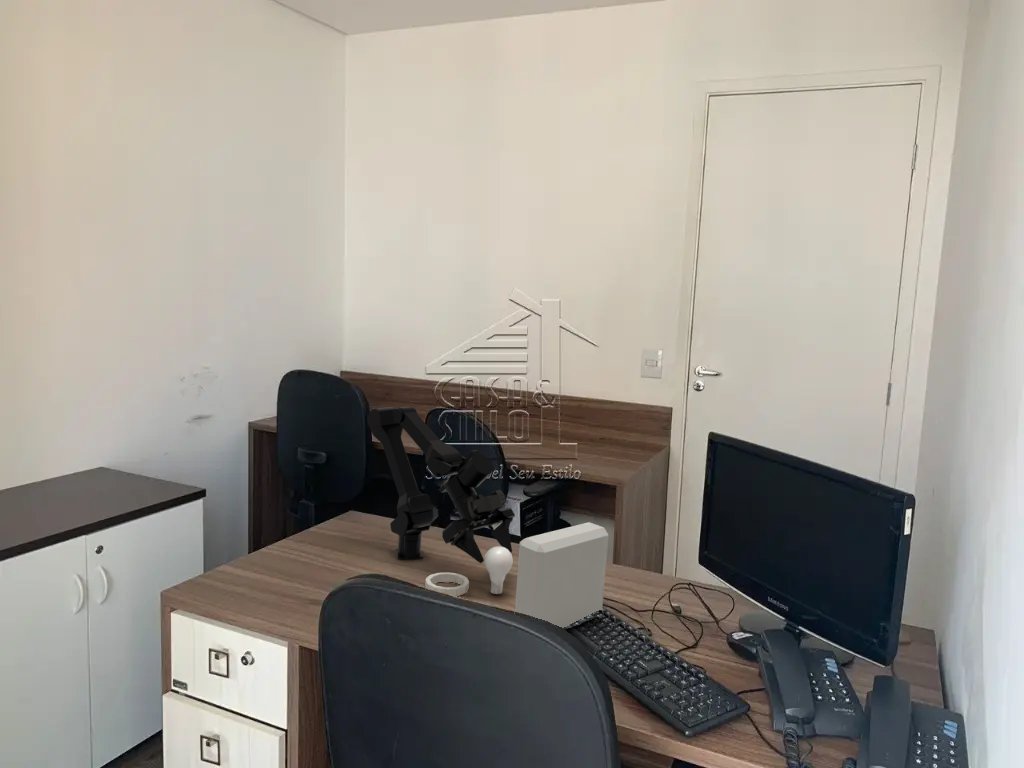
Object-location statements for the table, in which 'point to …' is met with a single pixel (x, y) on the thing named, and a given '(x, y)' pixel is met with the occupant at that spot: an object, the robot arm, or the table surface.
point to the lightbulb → (498, 566)
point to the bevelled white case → (562, 574)
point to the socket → (448, 577)
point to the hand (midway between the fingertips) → (496, 557)
